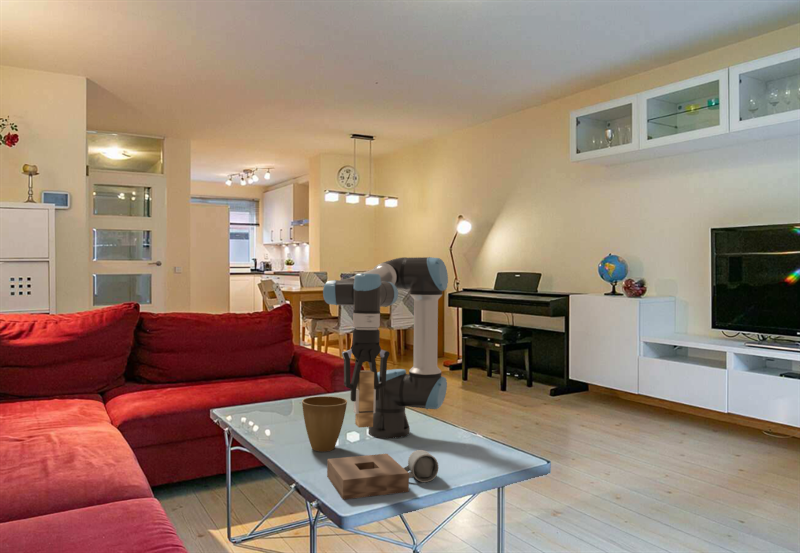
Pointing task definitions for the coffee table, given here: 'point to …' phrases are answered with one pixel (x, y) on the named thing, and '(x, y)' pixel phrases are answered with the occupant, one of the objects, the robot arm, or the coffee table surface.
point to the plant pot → (323, 420)
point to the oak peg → (365, 399)
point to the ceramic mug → (422, 466)
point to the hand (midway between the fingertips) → (364, 412)
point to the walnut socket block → (367, 476)
